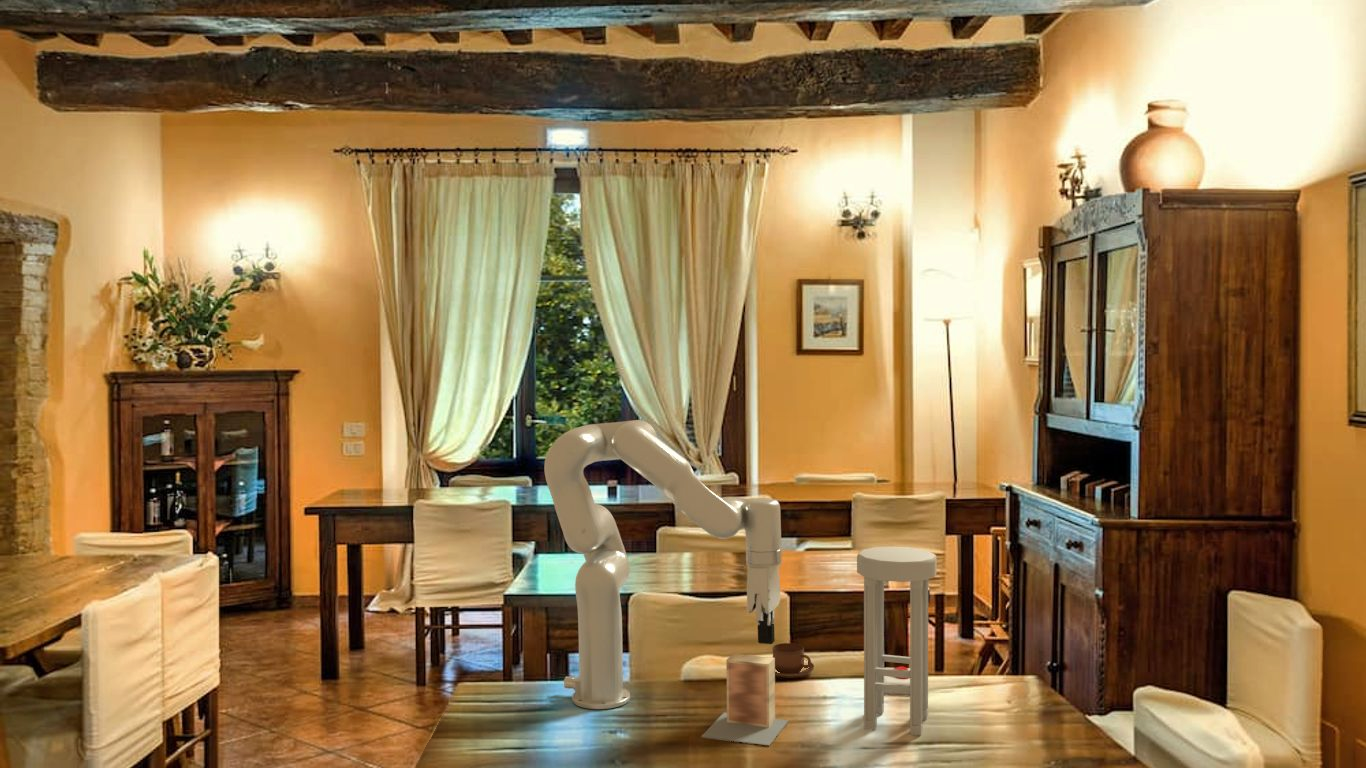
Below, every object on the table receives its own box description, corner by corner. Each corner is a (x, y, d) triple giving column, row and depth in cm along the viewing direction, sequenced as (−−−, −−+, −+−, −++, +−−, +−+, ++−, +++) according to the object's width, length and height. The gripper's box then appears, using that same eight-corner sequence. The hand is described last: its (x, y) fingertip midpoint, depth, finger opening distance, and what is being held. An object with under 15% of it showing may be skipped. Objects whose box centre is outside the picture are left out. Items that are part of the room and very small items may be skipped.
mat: (701, 737, 213) (701, 736, 213) (723, 713, 226) (723, 712, 226) (769, 746, 208) (769, 745, 208) (788, 721, 221) (788, 720, 221)
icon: (872, 659, 249) (916, 660, 248) (872, 677, 250) (916, 679, 248) (874, 676, 237) (920, 677, 236) (874, 695, 238) (920, 697, 236)
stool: (865, 705, 230) (865, 544, 228) (939, 713, 225) (939, 548, 223) (851, 731, 216) (851, 558, 214) (930, 740, 210) (930, 563, 209)
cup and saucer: (818, 668, 256) (818, 642, 256) (807, 684, 245) (807, 657, 245) (770, 663, 260) (769, 638, 260) (757, 678, 249) (756, 652, 249)
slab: (726, 722, 220) (726, 659, 220) (733, 714, 225) (733, 653, 224) (769, 727, 217) (768, 664, 217) (775, 719, 221) (774, 657, 221)
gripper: (757, 549, 236) (759, 632, 237) (736, 564, 222) (738, 651, 223) (790, 551, 233) (792, 634, 234) (771, 565, 219) (773, 654, 220)
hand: (766, 642), depth 228 cm, fingers closed
